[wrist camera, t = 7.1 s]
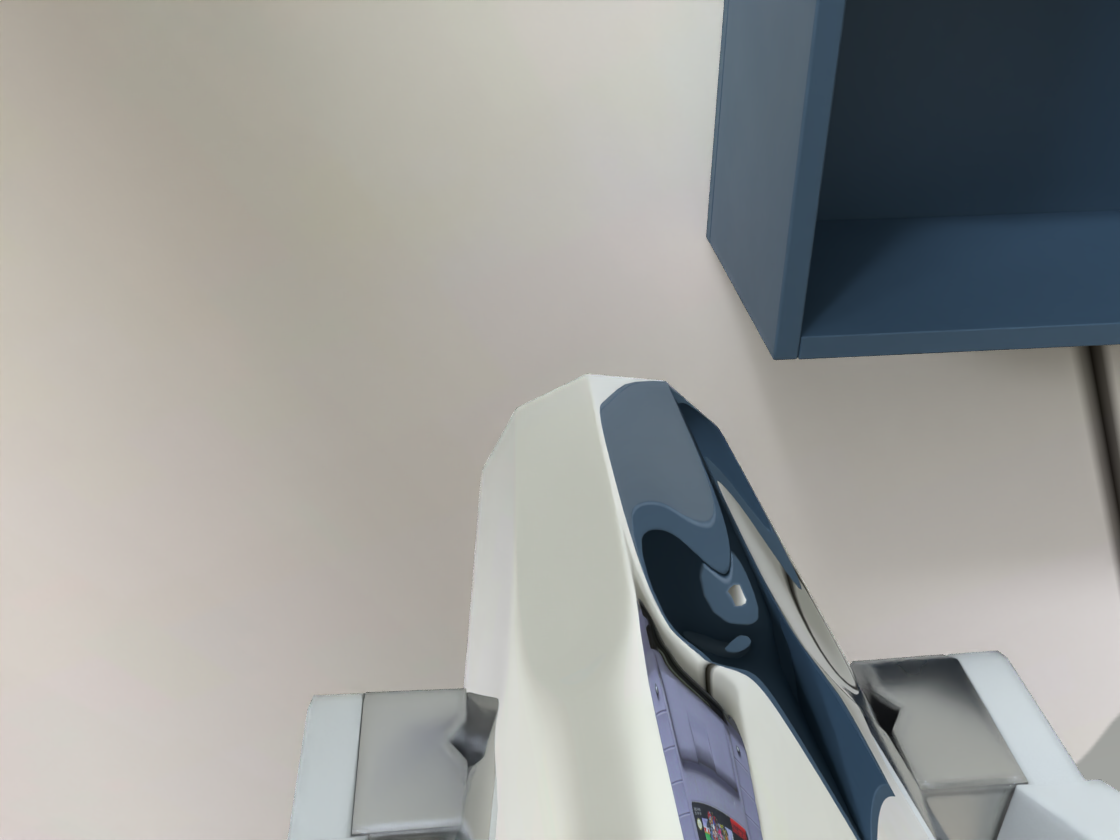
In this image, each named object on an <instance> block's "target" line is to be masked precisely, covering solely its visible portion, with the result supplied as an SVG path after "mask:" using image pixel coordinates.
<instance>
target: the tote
mask: <svg viewBox="0 0 1120 840" xmlns="http://www.w3.org/2000/svg"><path fill="white" fill-rule="evenodd" d="M706 237H707V239H708V241H709V243H710V244H711V246H712V248H713V250H714V252H715V253H716V255H717V257H718V259H719V261H720V262H721V264H722V266H723V268H724V270H725V272H726V273H727V275H728V277H729V279H730V281H731V283H732V284H733V286H734V288H735V290H736V292H737V294H738V295H739V297H740V299H741V301H742V303H743V305H744V306H745V308H746V310H747V312H748V314H749V316H750V317H751V319H752V321H753V323H754V325H755V326H756V328H757V330H758V332H759V334H760V336H761V337H762V339H763V341H764V343H765V345H766V347H767V348H768V350H769V352H770V354H771V356H772V358H773V359H774V360H785V359H797V357H798V358H799V359H816V358H837V357H859V356H880V355H902V354H923V353H945V352H966V351H988V350H1009V349H1031V348H1052V347H1074V346H1095V345H1117V344H1120V0H724V12H723V25H722V38H721V51H720V64H719V77H718V90H717V103H716V116H715V129H714V142H713V155H712V168H711V181H710V194H709V208H708V221H707V234H706Z"/></svg>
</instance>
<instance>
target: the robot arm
mask: <svg viewBox="0 0 1120 840" xmlns="http://www.w3.org/2000/svg"><path fill="white" fill-rule="evenodd" d="M850 667H851V668H852V670H853V672H854V674H855V676H856V678H857V680H858V681H859V683H860V685H861V687H862V689H863V691H864V693H865V694H866V696H867V698H868V700H869V702H870V704H871V705H872V707H873V709H874V711H875V712H876V714H877V716H878V718H879V719H880V721H881V723H882V725H883V726H884V728H885V730H886V732H887V733H888V735H889V737H890V739H891V740H892V742H893V744H894V745H895V747H896V749H897V751H898V752H899V754H900V756H901V757H902V759H903V761H904V762H905V764H906V766H907V767H908V769H909V771H910V773H911V774H912V776H913V778H914V779H915V781H916V783H917V784H918V786H919V788H920V789H921V791H922V793H923V794H924V796H925V798H926V800H927V801H928V803H929V805H930V806H931V808H932V810H933V811H934V813H935V815H936V816H937V818H938V820H939V821H940V823H941V825H942V826H943V828H944V830H945V832H946V833H947V835H948V837H949V838H950V840H1120V792H1119V791H1118V790H1116V789H1115V788H1113V787H1112V786H1110V785H1108V784H1107V783H1105V782H1104V781H1102V780H1100V779H1098V780H1085V778H1084V776H1083V775H1082V773H1081V772H1080V771H1079V769H1078V767H1077V765H1076V764H1075V762H1074V761H1073V759H1072V758H1071V756H1070V755H1069V753H1068V751H1067V750H1066V748H1065V747H1064V745H1063V744H1062V742H1061V740H1060V739H1059V737H1058V736H1057V734H1056V733H1055V731H1054V730H1053V728H1052V726H1051V725H1050V723H1049V722H1048V720H1047V719H1046V717H1045V716H1044V714H1043V712H1042V711H1041V709H1040V708H1039V706H1038V705H1037V703H1036V702H1035V700H1034V698H1033V697H1032V695H1031V694H1030V692H1029V691H1028V689H1027V688H1026V686H1025V684H1024V683H1023V681H1022V680H1021V678H1020V677H1019V675H1018V674H1017V672H1016V670H1015V669H1014V667H1013V666H1012V664H1011V663H1010V661H1009V660H1008V658H1007V657H1006V656H1004V655H1003V654H1001V653H1000V652H999V651H986V652H972V653H959V654H949V655H947V656H946V655H943V654H941V655H928V656H915V657H902V658H890V659H877V660H864V661H853V662H852V663H851V664H850ZM467 736H468V729H467V691H466V688H460V689H435V690H411V691H387V692H366V693H359V694H337V695H314V696H313V698H312V700H311V703H310V705H309V707H308V710H307V716H306V723H305V729H304V736H303V742H302V749H301V756H300V762H299V769H298V775H297V782H296V788H295V795H294V801H293V808H292V815H291V821H290V828H289V834H288V840H454V839H455V836H456V834H457V832H458V830H459V828H460V826H461V819H462V811H463V803H464V795H465V788H466V782H467V768H468V766H467V760H466V759H465V758H464V756H463V755H462V754H461V751H462V748H463V746H464V743H465V741H466V738H467Z"/></svg>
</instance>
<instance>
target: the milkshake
mask: <svg viewBox="0 0 1120 840" xmlns="http://www.w3.org/2000/svg"><path fill="white" fill-rule="evenodd" d="M464 688H466V691H467V729H468V736H467V738H466V741H465V743H464V746H463V748H462V751H461V754H462V755H463V756H464V758H465V759H466V760H467V766H468V768H467V782H466V788H465V795H464V803H463V811H462V819H461V826H460V828H459V830H458V832H457V834H456V836H455V839H454V840H950V838H949V837H948V835H947V833H946V832H945V830H944V828H943V826H942V825H941V823H940V821H939V820H938V818H937V816H936V815H935V813H934V811H933V810H932V808H931V806H930V805H929V803H928V801H927V800H926V798H925V796H924V794H923V793H922V791H921V789H920V788H919V786H918V784H917V783H916V781H915V779H914V778H913V776H912V774H911V773H910V771H909V769H908V767H907V766H906V764H905V762H904V761H903V759H902V757H901V756H900V754H899V752H898V751H897V749H896V747H895V745H894V744H893V742H892V740H891V739H890V737H889V735H888V733H887V732H886V730H885V728H884V726H883V725H882V723H881V721H880V719H879V718H878V716H877V714H876V712H875V711H874V709H873V707H872V705H871V704H870V702H869V700H868V698H867V696H866V694H865V693H864V691H863V689H862V687H861V685H860V683H859V681H858V680H857V678H856V676H855V674H854V672H853V670H852V668H851V667H850V665H849V663H848V661H847V659H846V657H845V656H844V654H843V652H842V650H841V648H840V646H839V645H838V643H837V641H836V639H835V637H834V635H833V634H832V632H831V630H830V628H829V626H828V624H827V623H826V621H825V619H824V617H823V615H822V614H821V612H820V610H819V608H818V606H817V604H816V603H815V601H814V599H813V597H812V595H811V594H810V592H809V590H808V588H807V586H806V584H805V583H804V581H803V579H802V577H801V575H800V574H799V572H798V570H797V568H796V566H795V564H794V563H793V561H792V559H791V557H790V555H789V554H788V552H787V550H786V548H785V546H784V545H783V543H782V541H781V539H780V537H779V535H778V534H777V532H776V530H775V528H774V526H773V525H772V523H771V521H770V519H769V517H768V516H767V514H766V512H765V510H764V508H763V507H762V505H761V503H760V501H759V499H758V497H757V496H756V494H755V492H754V490H753V488H752V487H751V485H750V483H749V481H748V479H747V478H746V476H745V474H744V472H743V470H742V469H741V467H740V465H739V463H738V461H737V459H736V458H735V456H734V454H733V452H732V450H731V449H730V447H729V445H728V443H727V441H726V440H725V438H724V436H723V434H722V433H721V431H720V429H719V428H718V427H717V426H716V425H715V424H714V423H713V422H712V421H711V420H710V419H708V418H707V417H706V416H705V415H704V414H703V413H701V412H700V411H699V410H698V409H697V408H696V407H695V406H693V405H692V404H691V403H690V402H689V401H688V400H687V399H685V398H684V397H683V396H682V395H681V394H680V393H679V392H677V391H676V390H675V389H674V388H673V387H672V386H671V385H670V384H668V383H667V382H666V381H664V380H653V379H642V378H631V377H620V376H609V375H599V374H589V373H587V374H584V375H582V376H580V377H578V378H576V379H574V380H572V381H570V382H568V383H566V384H564V385H562V386H560V387H558V388H556V389H554V390H552V391H550V392H548V393H546V394H544V395H542V396H540V397H538V398H536V399H533V400H531V401H529V402H527V403H525V404H523V405H521V406H519V407H517V408H516V409H515V411H514V413H513V414H512V416H511V418H510V420H509V422H508V424H507V425H506V427H505V429H504V431H503V433H502V435H501V436H500V438H499V440H498V442H497V444H496V445H495V447H494V449H493V451H492V453H491V454H490V456H489V458H488V460H487V461H486V463H485V465H484V467H483V469H482V473H481V482H480V494H479V506H478V518H477V530H476V542H475V554H474V566H473V579H472V591H471V603H470V615H469V628H468V640H467V652H466V665H465V677H464Z"/></svg>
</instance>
